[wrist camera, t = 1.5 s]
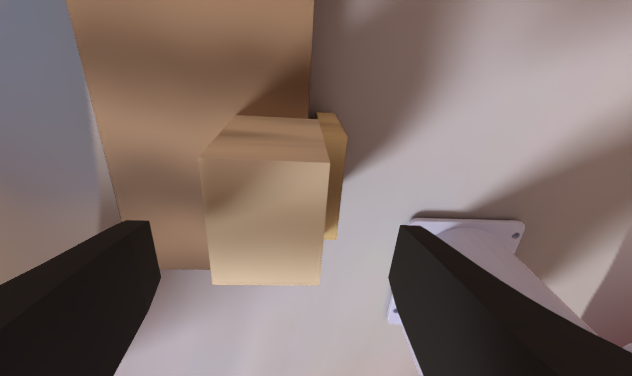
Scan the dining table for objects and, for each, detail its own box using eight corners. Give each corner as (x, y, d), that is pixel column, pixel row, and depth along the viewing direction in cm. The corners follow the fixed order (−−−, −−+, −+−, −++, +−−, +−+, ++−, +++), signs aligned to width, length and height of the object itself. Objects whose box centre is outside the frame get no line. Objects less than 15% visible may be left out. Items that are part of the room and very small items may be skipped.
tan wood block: (327, 194, 18) (345, 285, 12) (245, 192, 18) (212, 284, 11) (334, 113, 16) (361, 164, 9) (241, 108, 16) (197, 157, 9)
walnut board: (300, 250, 21) (300, 270, 19) (148, 248, 20) (133, 268, 18) (323, -231, 11) (328, -284, 9) (35, -272, 10) (-20, -338, 9)
